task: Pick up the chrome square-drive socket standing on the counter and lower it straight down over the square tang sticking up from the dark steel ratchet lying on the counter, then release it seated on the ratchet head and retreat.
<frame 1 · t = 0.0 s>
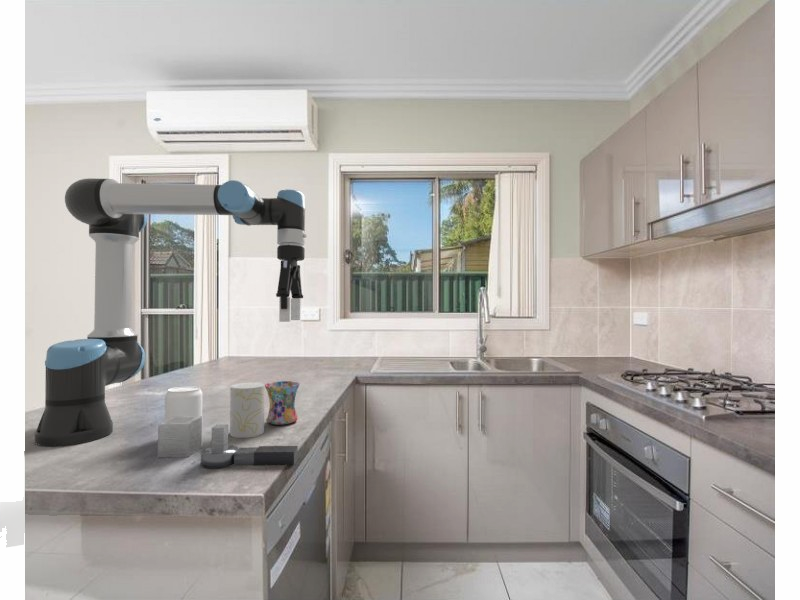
hand: (290, 321, 119), 28 cm above the worktop, fingers open, 13 cm apart
beverage can: (183, 439, 102), on the worktop
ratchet: (219, 462, 86), on the worktop
cup: (247, 433, 107), on the worktop
socket: (180, 452, 92), on the worktop
mug: (281, 421, 118), on the worktop
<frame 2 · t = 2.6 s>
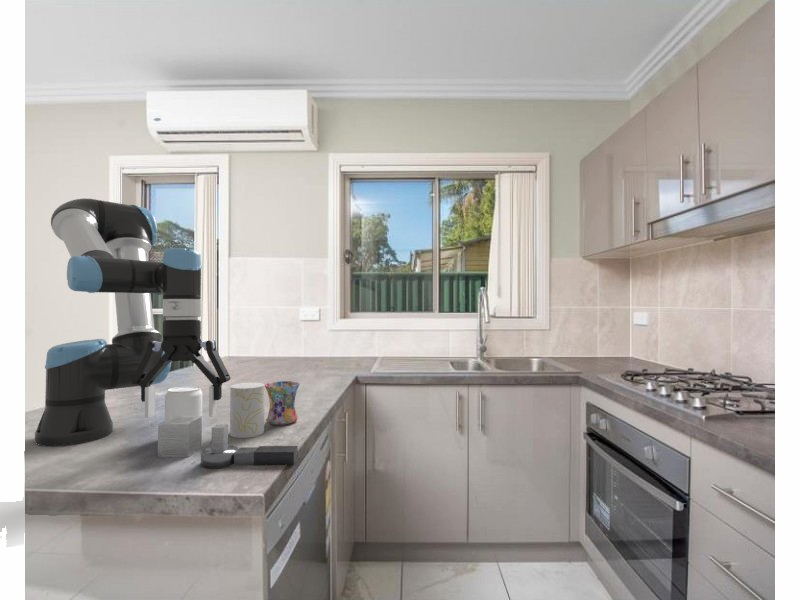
hand: (181, 415, 92), 8 cm above the worktop, fingers open, 13 cm apart
nothing on the worktop moved.
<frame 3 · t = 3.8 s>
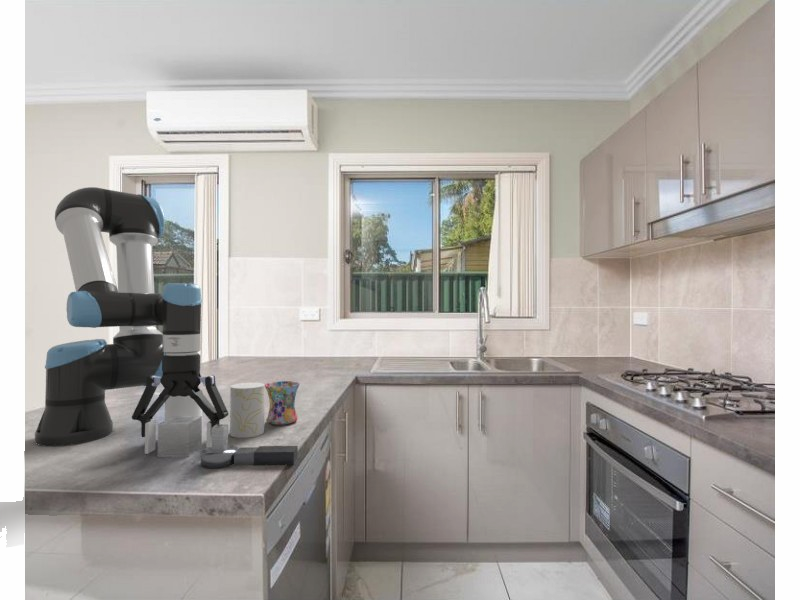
hand: (180, 451, 92), 0 cm above the worktop, fingers open, 12 cm apart
nothing on the worktop moved.
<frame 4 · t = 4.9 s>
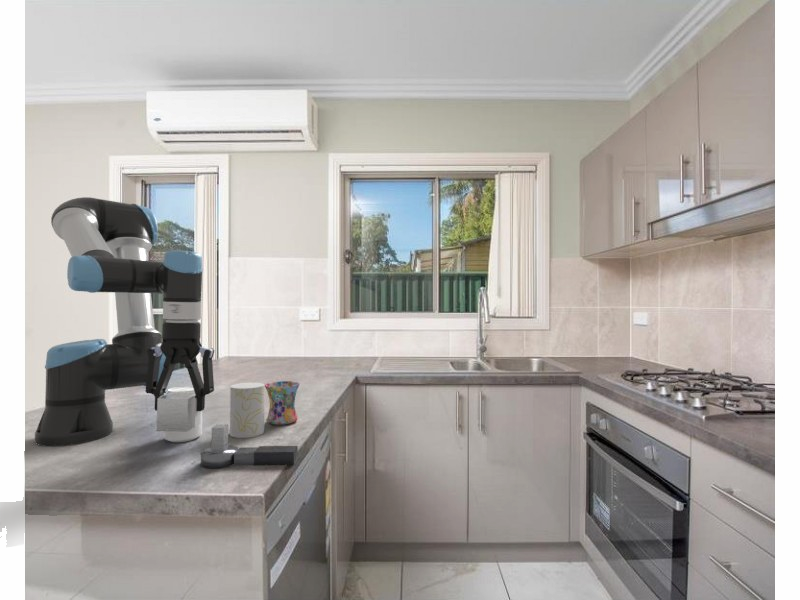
hand: (179, 425, 93), 6 cm above the worktop, fingers closed on socket, 6 cm apart
socket: (179, 426, 93), point 5 cm above the worktop, touching gripper
everything else where it was.
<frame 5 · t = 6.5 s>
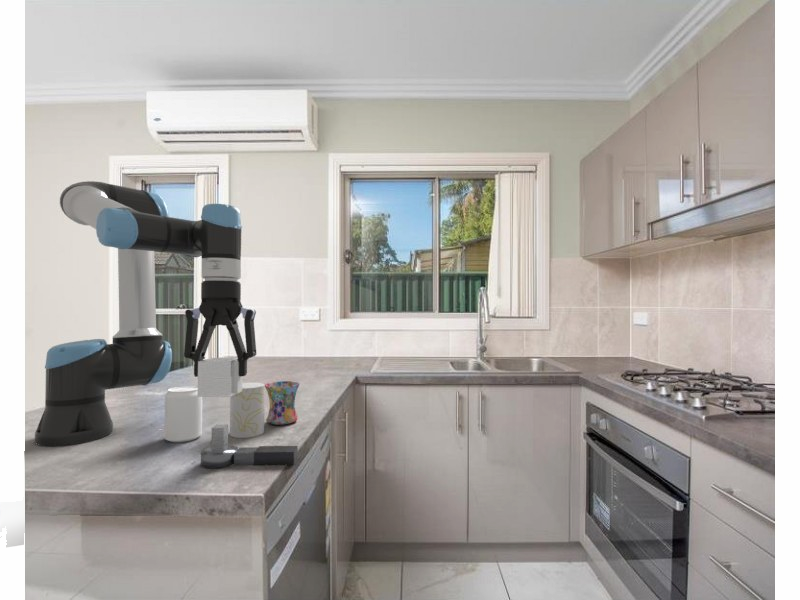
hand: (220, 392, 86), 14 cm above the worktop, fingers closed on socket, 6 cm apart
socket: (220, 393, 86), point 14 cm above the worktop, touching gripper
everything else where it was.
when the fingers open (3 cm above the worktop, at t = 8.4 s): socket stays where it is, resting on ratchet.
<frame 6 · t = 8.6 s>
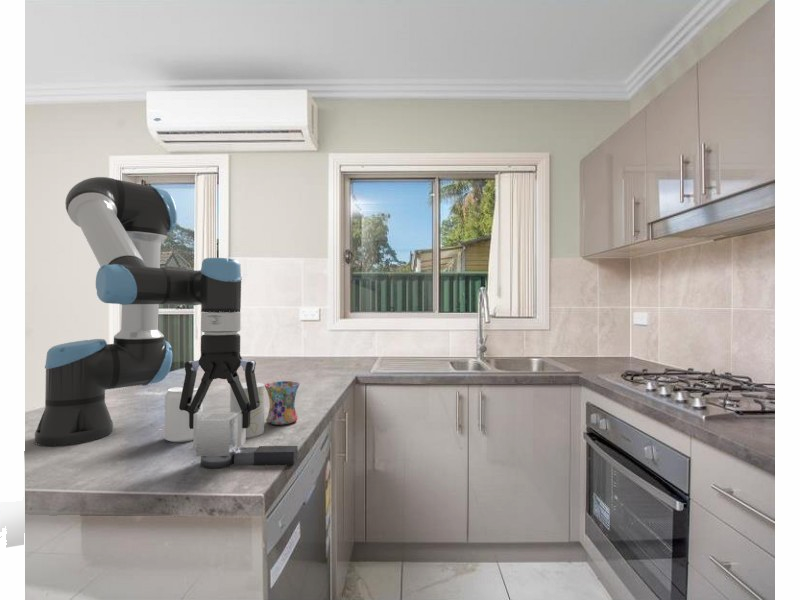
hand: (219, 443, 86), 4 cm above the worktop, fingers open, 8 cm apart
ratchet: (219, 462, 86), on the worktop, touching socket
socket: (219, 450, 86), point 2 cm above the worktop, touching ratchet
everything else where it was.
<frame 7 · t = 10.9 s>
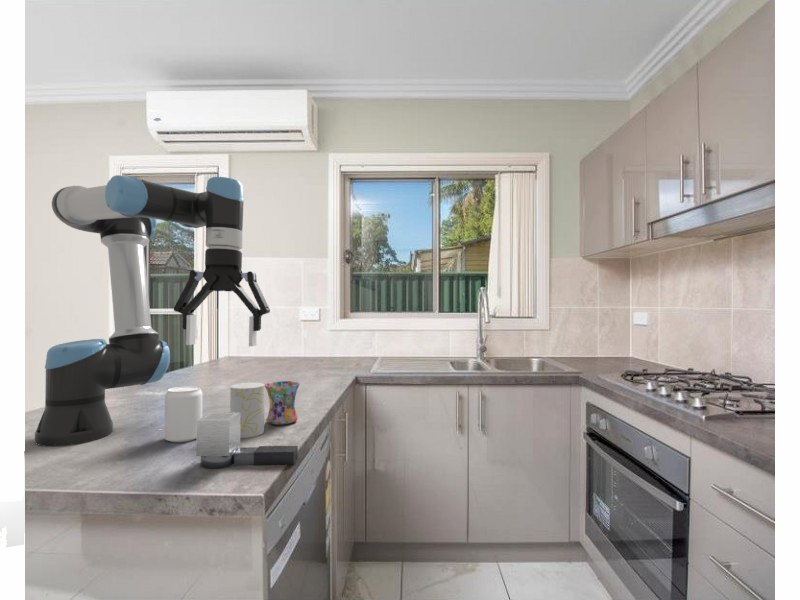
hand: (221, 345, 93), 23 cm above the worktop, fingers open, 13 cm apart
nothing on the worktop moved.
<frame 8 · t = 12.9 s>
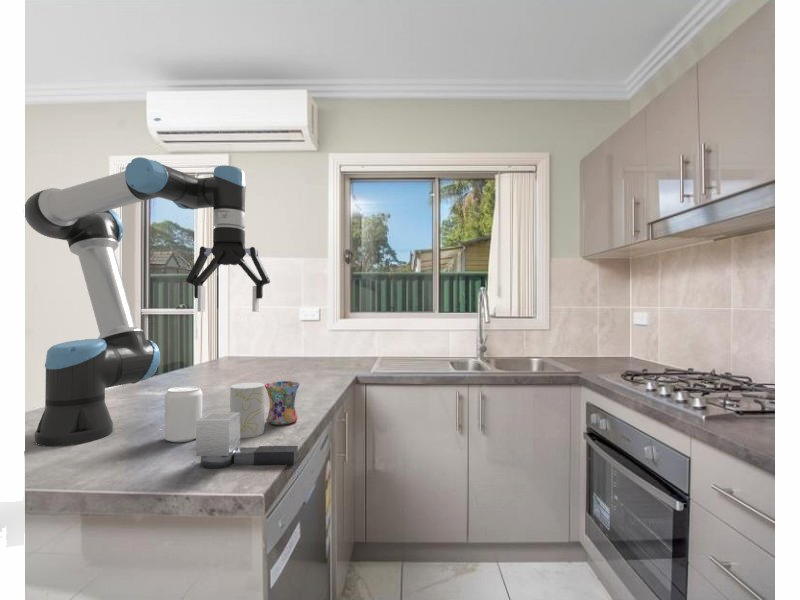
hand: (228, 311, 107), 31 cm above the worktop, fingers open, 13 cm apart
nothing on the worktop moved.
at the end: socket 0.2 cm off-centre on the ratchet, point 2.5 cm above the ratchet's base; socket tilted 0°; the gripper is holding nothing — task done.
